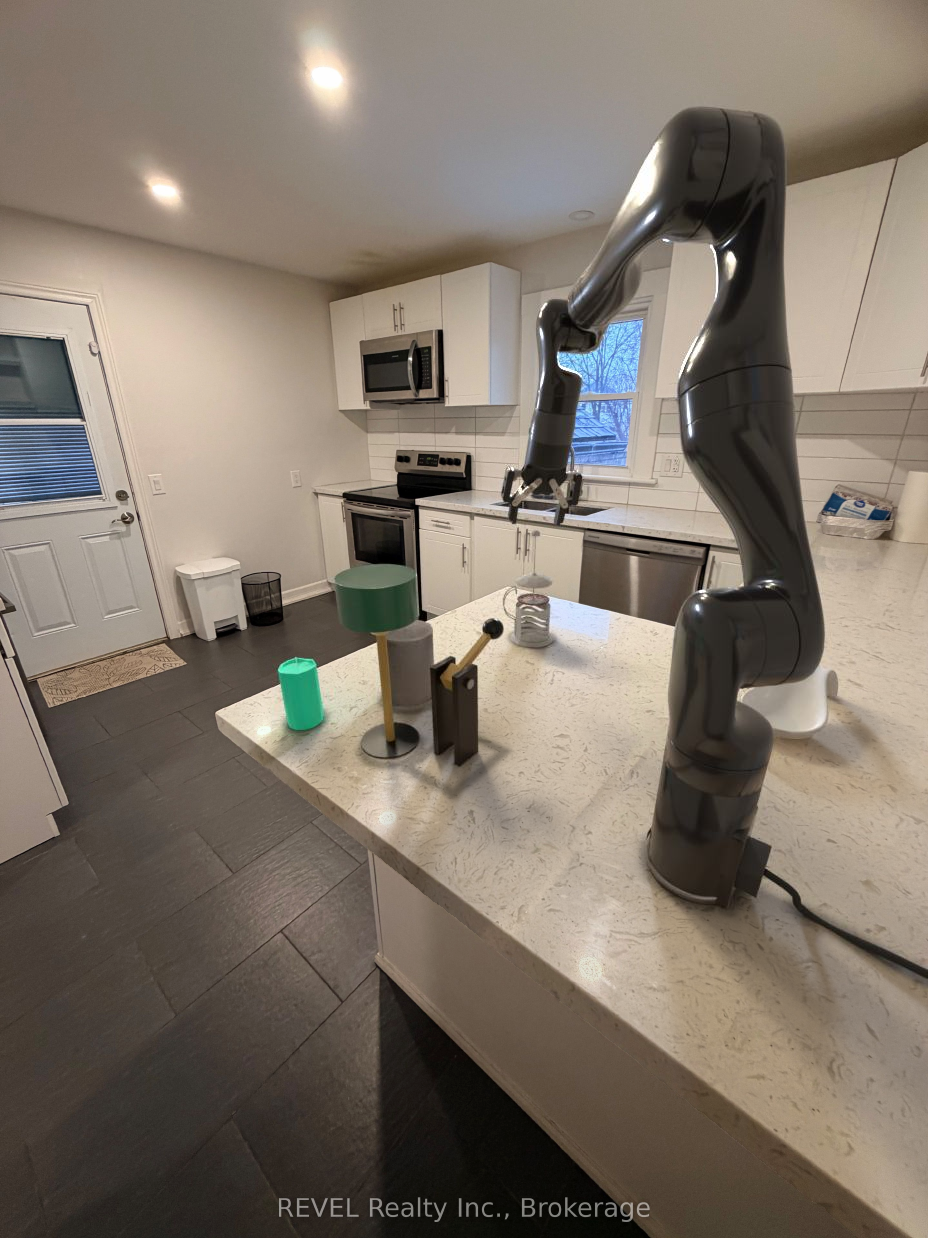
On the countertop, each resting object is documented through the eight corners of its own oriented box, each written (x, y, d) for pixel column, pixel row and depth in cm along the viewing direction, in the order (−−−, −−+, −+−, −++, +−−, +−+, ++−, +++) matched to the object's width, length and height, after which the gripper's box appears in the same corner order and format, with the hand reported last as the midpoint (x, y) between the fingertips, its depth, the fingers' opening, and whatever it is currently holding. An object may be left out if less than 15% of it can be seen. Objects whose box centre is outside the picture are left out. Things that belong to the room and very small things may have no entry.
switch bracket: (459, 729, 81) (457, 642, 75) (504, 751, 76) (505, 659, 70) (406, 768, 72) (399, 673, 66) (453, 795, 67) (449, 694, 61)
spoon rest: (802, 761, 72) (815, 720, 70) (722, 725, 81) (731, 686, 78) (858, 705, 86) (870, 668, 83) (784, 679, 94) (793, 645, 91)
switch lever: (492, 626, 76) (487, 611, 74) (509, 631, 74) (504, 616, 72) (443, 688, 70) (435, 674, 68) (460, 695, 68) (453, 681, 66)
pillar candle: (373, 696, 91) (365, 621, 85) (416, 679, 97) (412, 607, 91) (402, 719, 84) (396, 639, 78) (447, 699, 90) (444, 623, 84)
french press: (556, 647, 109) (563, 535, 99) (503, 647, 109) (505, 535, 99) (550, 629, 118) (555, 524, 108) (501, 629, 118) (502, 525, 108)
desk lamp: (459, 752, 75) (455, 578, 65) (407, 792, 68) (393, 601, 57) (393, 718, 84) (379, 559, 74) (340, 750, 76) (316, 578, 66)
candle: (313, 732, 81) (303, 667, 76) (280, 728, 82) (268, 664, 78) (329, 711, 87) (321, 650, 82) (298, 708, 88) (288, 647, 83)
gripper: (513, 440, 82) (501, 530, 91) (596, 445, 83) (576, 533, 92) (506, 428, 88) (495, 513, 97) (584, 433, 89) (566, 517, 99)
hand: (535, 523), depth 95 cm, fingers open, 8 cm apart
